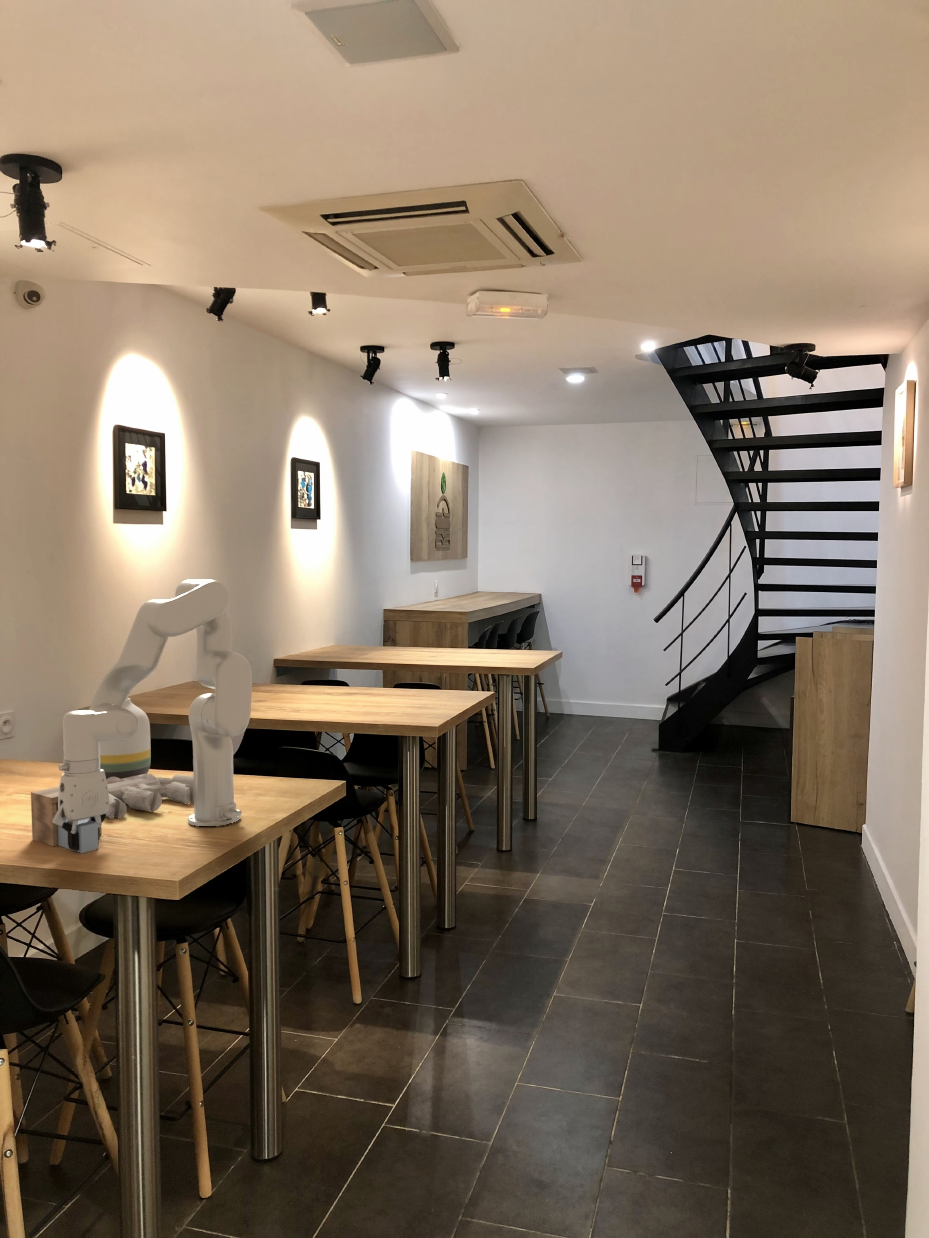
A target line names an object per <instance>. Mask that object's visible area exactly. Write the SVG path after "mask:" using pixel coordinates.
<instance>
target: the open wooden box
mask: <svg viewBox="0 0 929 1238" xmlns="http://www.w3.org/2000/svg"><path fill="white" fill-rule="evenodd" d="M58 794H59V786H58V785H57V786H54V787H50V788H45V789H39V790H36V791H31V792H30V805H31V806H30V807H31V811H30V812H31V833H32V834H31V835H32V836H31V837H32V838H31V839H33V840H32V841H34V840H36V841H35V842H37V841H39V842H38V843H40V842H42V843H41V844H44V843H45V844H44V845H47V846H50V845H51V846H50V847H53V846H55V847H58V846H59V845H58V842H57V825H56V824H54V823H53V822H52V820H53V818H54V817H55V815H56V813H57V811H58ZM102 829H103V828H102V826H101V827H99V832H100V835H102V834H103V832H102ZM57 845H58V846H57Z"/></svg>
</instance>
